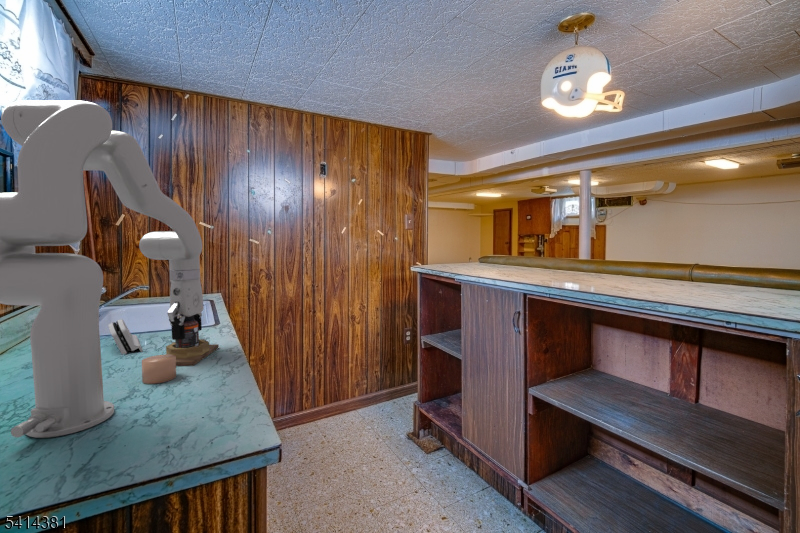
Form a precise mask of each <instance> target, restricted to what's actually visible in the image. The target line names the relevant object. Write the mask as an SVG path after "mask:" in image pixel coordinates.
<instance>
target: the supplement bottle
mask: <svg viewBox="0 0 800 533" xmlns="http://www.w3.org/2000/svg"><path fill="white" fill-rule="evenodd" d="M178 319H179V320H180V318H178ZM183 325H184V327H185V339H181V340H174V342H175V345H176V348H189V347H194V346H199V339H200V337H199V336H200V335H199V332H200V331H198V322H197V321H196V320H195V319H194V315H193V316H190V317H186V316H185V319H184V322H183Z"/></svg>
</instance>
